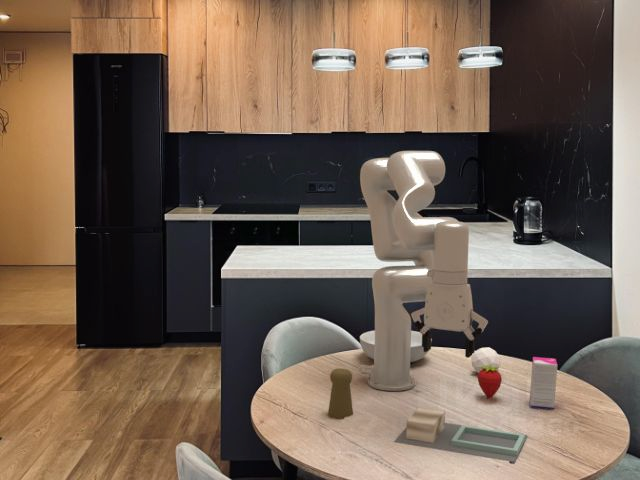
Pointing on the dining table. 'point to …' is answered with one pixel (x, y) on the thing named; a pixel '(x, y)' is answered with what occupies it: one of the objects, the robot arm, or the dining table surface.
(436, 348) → the dining table surface
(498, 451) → the teal frame
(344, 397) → the cork
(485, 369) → the strawberry
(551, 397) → the supplement box
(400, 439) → the charcoal mat
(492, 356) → the geometric ball
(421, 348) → the serving bowl
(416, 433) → the beige block
